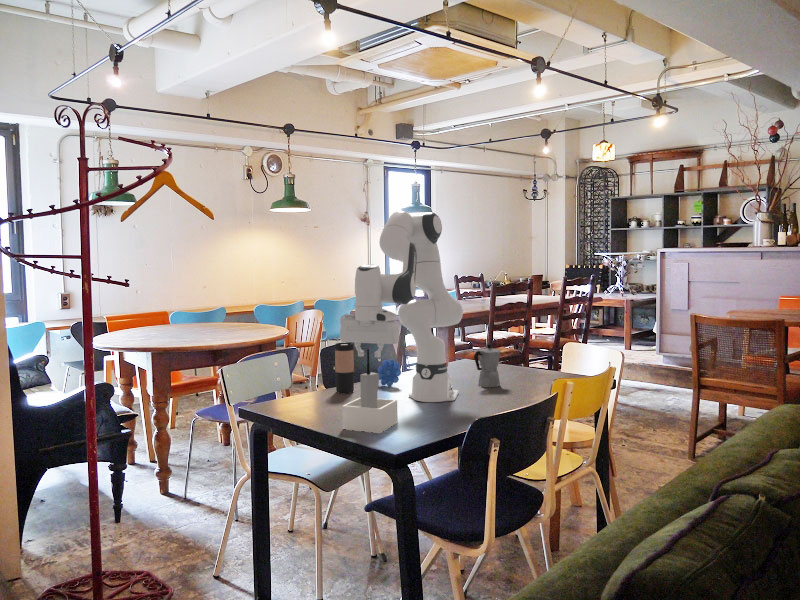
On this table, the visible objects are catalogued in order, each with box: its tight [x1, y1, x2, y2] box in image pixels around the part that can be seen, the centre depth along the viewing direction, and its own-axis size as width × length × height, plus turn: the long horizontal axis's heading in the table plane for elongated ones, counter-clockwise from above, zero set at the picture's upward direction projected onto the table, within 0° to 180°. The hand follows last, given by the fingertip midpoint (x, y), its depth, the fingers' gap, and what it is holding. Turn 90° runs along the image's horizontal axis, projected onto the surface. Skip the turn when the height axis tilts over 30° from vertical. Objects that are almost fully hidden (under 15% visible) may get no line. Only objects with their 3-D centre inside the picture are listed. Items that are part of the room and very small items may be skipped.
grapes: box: [377, 358, 402, 387], centre depth 279 cm, size 12×7×12 cm, turn 61°
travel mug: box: [334, 342, 355, 394], centre depth 268 cm, size 8×8×20 cm
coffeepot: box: [473, 343, 501, 389], centre depth 276 cm, size 15×9×18 cm, turn 129°
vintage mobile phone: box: [360, 348, 380, 408], centre depth 213 cm, size 4×5×25 cm
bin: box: [341, 396, 398, 434], centre depth 214 cm, size 14×14×8 cm
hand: (369, 356), depth 213 cm, fingers open, 5 cm apart
